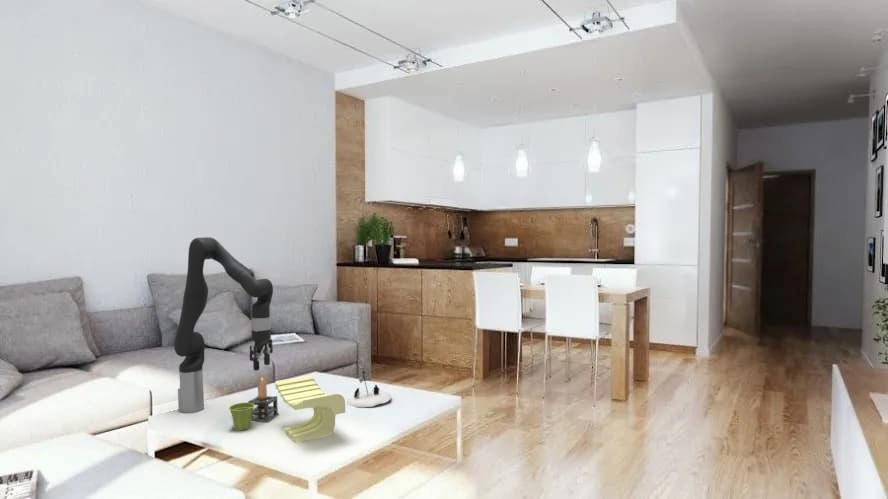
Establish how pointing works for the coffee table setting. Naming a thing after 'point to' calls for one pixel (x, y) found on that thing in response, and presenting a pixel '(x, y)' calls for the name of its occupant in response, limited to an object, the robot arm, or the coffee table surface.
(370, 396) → the figurine
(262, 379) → the tube
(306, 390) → the slatted curved stool
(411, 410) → the coffee table surface
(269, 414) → the metal frame cube
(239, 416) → the plant pot
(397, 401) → the coffee table surface
